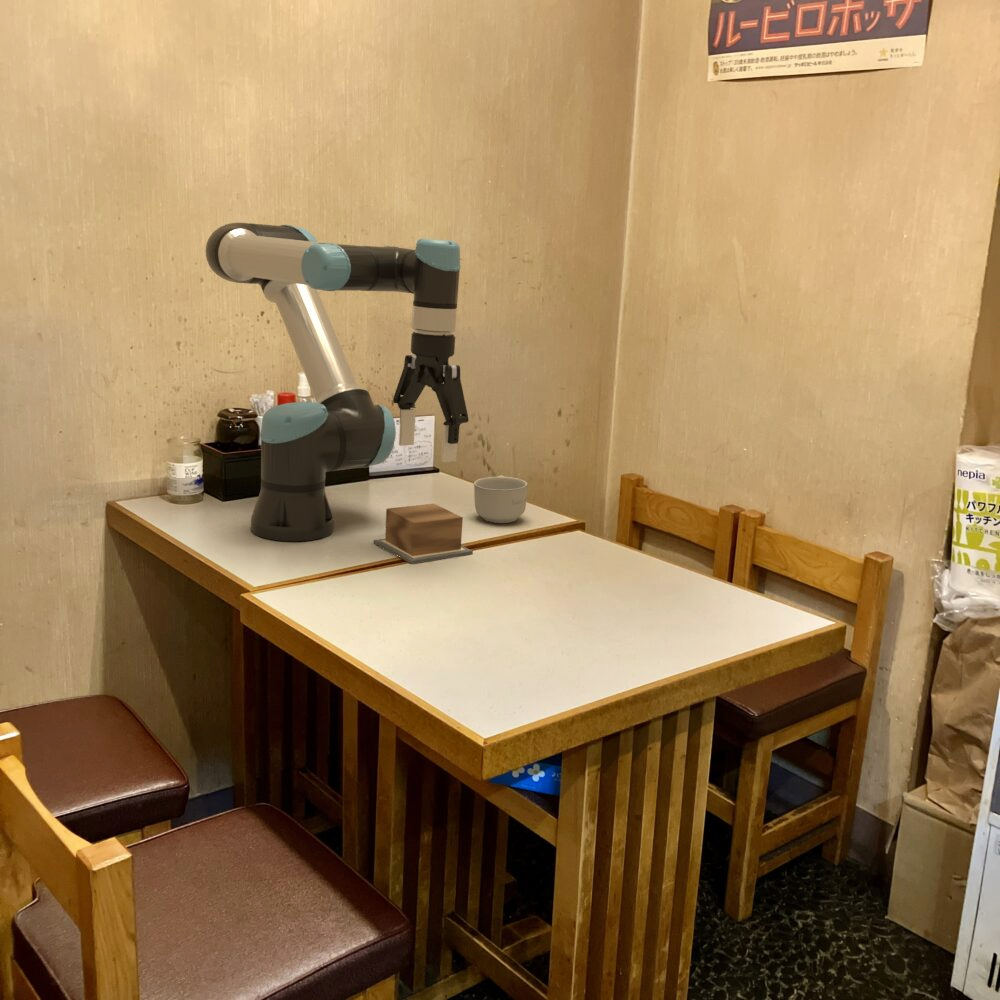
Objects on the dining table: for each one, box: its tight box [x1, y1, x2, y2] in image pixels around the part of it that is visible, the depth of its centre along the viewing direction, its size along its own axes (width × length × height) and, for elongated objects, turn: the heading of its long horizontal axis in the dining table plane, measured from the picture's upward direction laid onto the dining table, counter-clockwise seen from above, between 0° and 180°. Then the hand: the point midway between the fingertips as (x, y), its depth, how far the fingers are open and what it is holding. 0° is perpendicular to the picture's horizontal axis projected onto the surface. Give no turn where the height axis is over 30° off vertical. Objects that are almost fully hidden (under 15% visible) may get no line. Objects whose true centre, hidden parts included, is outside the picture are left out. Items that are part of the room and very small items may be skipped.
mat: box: [372, 538, 474, 565], centre depth 181 cm, size 13×13×1 cm
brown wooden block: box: [384, 503, 464, 556], centre depth 180 cm, size 10×10×6 cm
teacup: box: [473, 474, 528, 524], centre depth 204 cm, size 14×11×8 cm
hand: (426, 453), depth 177 cm, fingers open, 13 cm apart
